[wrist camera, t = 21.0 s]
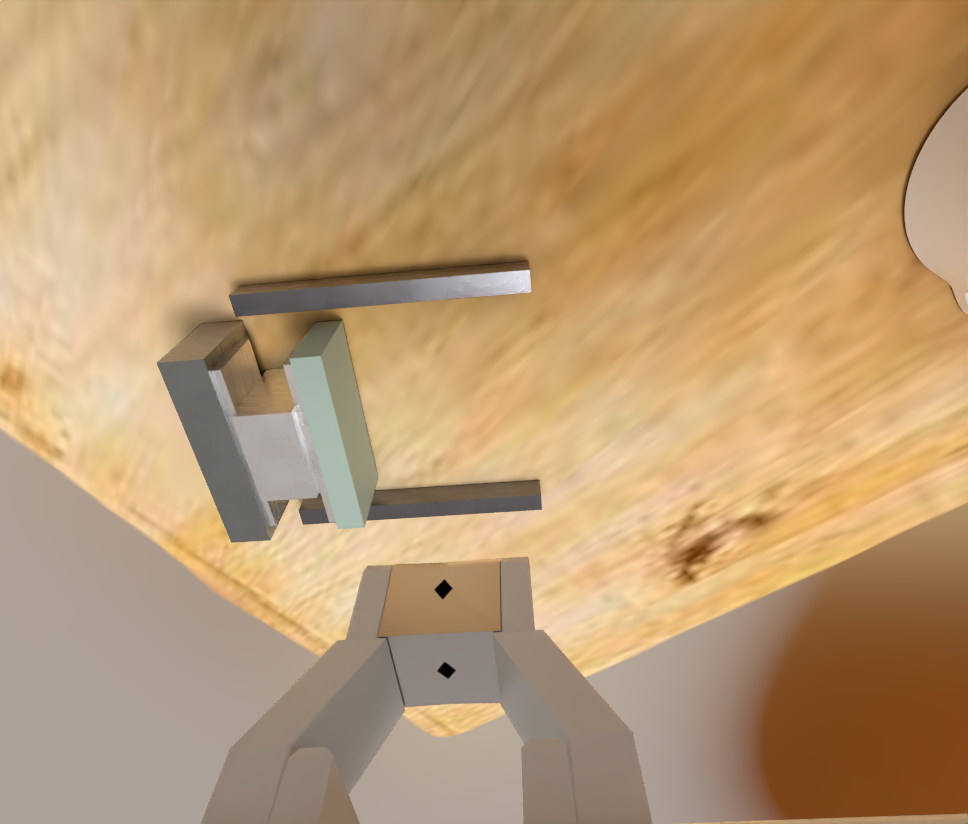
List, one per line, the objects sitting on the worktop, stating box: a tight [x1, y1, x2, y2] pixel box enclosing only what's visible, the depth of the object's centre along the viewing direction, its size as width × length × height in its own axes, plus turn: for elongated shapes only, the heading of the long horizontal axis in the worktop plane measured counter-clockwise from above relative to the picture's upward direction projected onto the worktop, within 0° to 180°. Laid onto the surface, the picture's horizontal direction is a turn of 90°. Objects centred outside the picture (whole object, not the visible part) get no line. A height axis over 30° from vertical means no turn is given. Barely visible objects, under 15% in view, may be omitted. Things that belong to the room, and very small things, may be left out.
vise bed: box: [157, 261, 542, 543], centre depth 42 cm, size 24×20×6 cm
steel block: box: [231, 368, 320, 501], centre depth 42 cm, size 4×7×7 cm, turn 5°
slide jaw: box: [283, 320, 378, 529], centre depth 42 cm, size 3×14×6 cm, turn 5°
